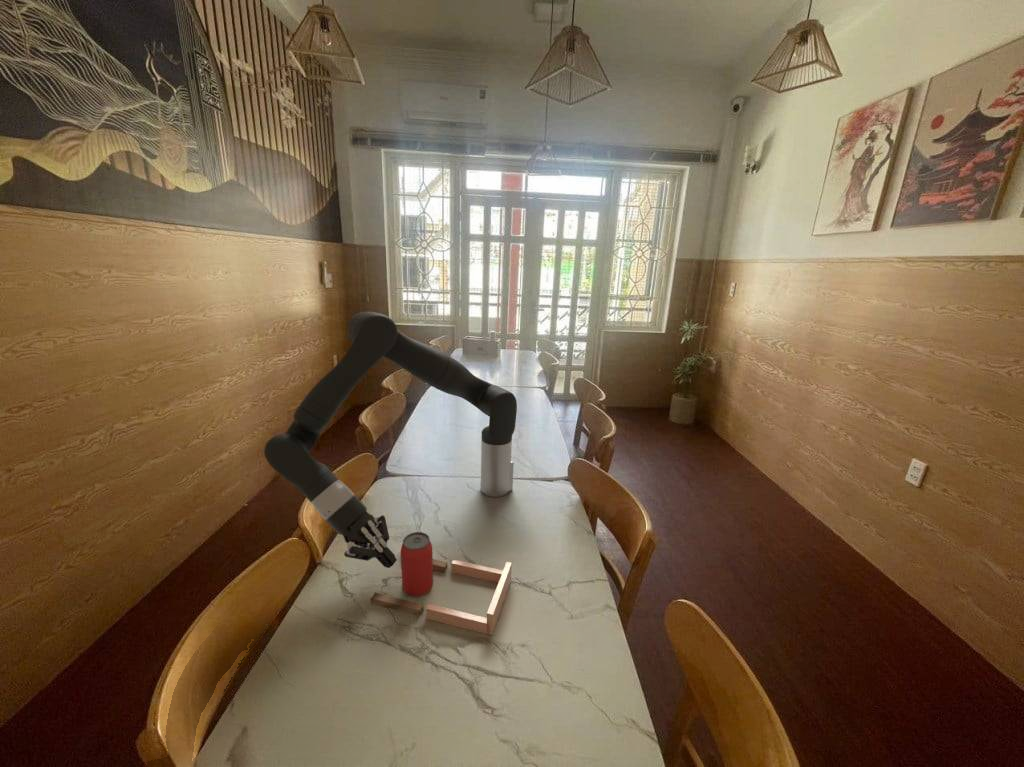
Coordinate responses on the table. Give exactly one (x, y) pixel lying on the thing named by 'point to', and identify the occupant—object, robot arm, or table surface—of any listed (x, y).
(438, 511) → the table surface
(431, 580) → the beer can
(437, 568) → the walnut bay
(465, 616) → the terracotta bay
